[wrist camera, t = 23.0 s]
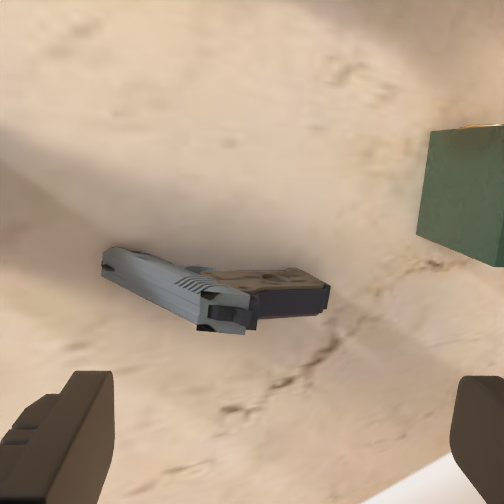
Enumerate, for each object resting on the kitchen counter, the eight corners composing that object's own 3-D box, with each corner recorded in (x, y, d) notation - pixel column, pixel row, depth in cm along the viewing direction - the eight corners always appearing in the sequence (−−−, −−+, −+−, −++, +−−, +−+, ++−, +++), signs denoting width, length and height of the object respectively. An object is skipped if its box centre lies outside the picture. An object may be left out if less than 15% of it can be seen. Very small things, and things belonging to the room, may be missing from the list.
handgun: (214, 238, 40) (97, 247, 31) (344, 279, 32) (236, 308, 23) (211, 263, 41) (95, 280, 32) (338, 310, 32) (230, 351, 23)
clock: (589, 270, 25) (625, 124, 23) (493, 267, 25) (521, 117, 23) (486, 237, 35) (505, 132, 33) (415, 234, 34) (431, 127, 32)
